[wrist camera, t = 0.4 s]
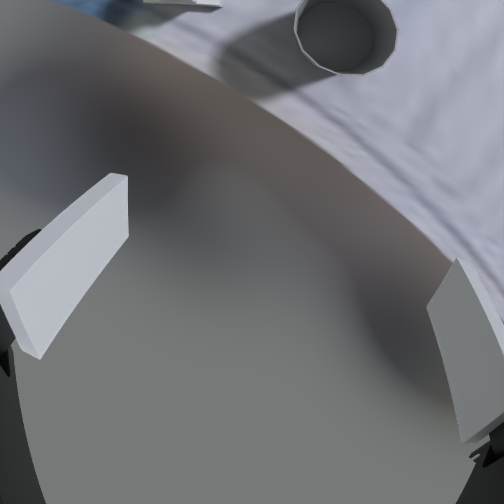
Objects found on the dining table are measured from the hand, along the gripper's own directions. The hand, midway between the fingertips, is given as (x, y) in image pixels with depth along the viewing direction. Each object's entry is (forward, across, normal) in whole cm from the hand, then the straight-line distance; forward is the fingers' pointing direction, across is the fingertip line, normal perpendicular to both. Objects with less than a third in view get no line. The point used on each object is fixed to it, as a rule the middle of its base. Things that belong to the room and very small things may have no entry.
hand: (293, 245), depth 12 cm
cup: (+27, +2, +10) cm, 29 cm away
